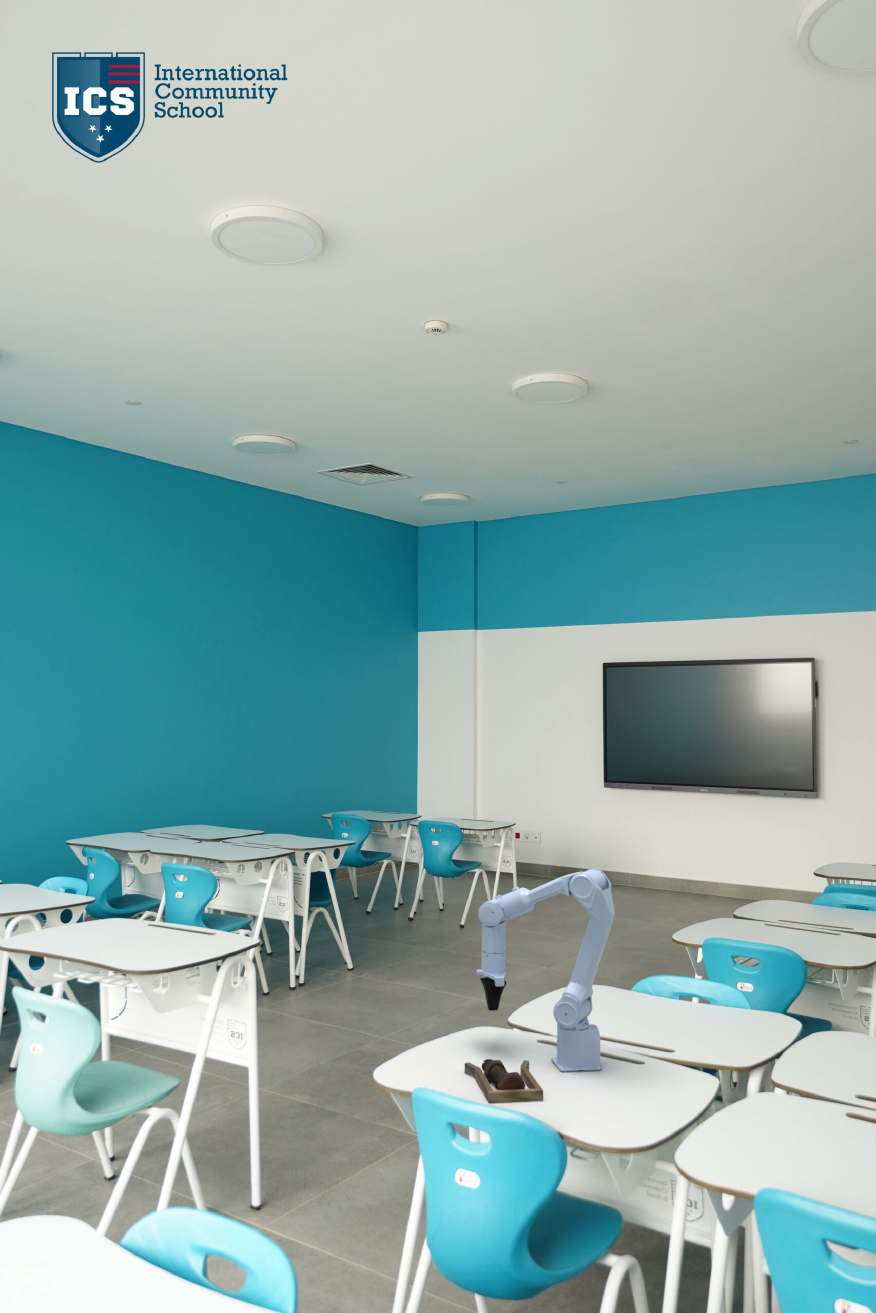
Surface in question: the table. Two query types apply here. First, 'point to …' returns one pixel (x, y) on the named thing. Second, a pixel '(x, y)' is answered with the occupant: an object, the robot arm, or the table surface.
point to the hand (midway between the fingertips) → (492, 1009)
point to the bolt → (502, 1075)
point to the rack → (507, 1095)
